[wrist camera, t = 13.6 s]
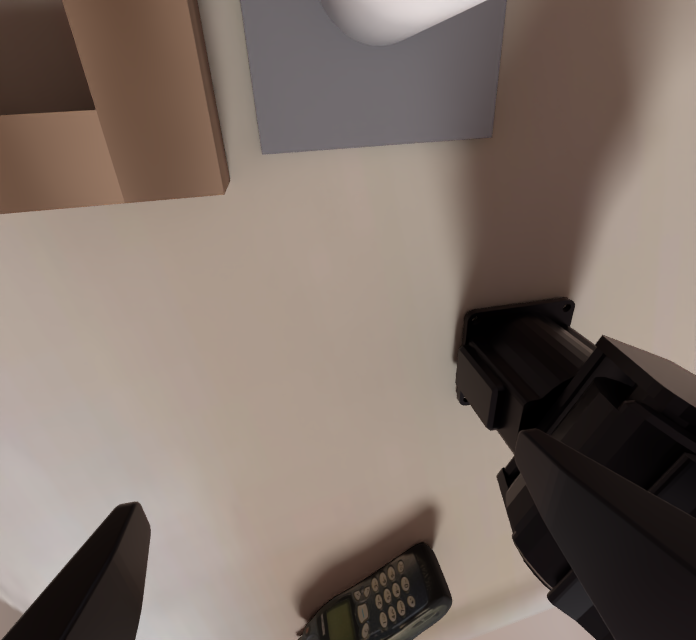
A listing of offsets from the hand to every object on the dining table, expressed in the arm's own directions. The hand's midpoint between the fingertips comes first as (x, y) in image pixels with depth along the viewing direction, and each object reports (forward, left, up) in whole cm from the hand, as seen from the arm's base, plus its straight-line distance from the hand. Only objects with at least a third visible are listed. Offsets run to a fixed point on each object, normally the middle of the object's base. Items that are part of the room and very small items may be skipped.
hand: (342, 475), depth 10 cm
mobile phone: (-2, +28, -12) cm, 31 cm away
